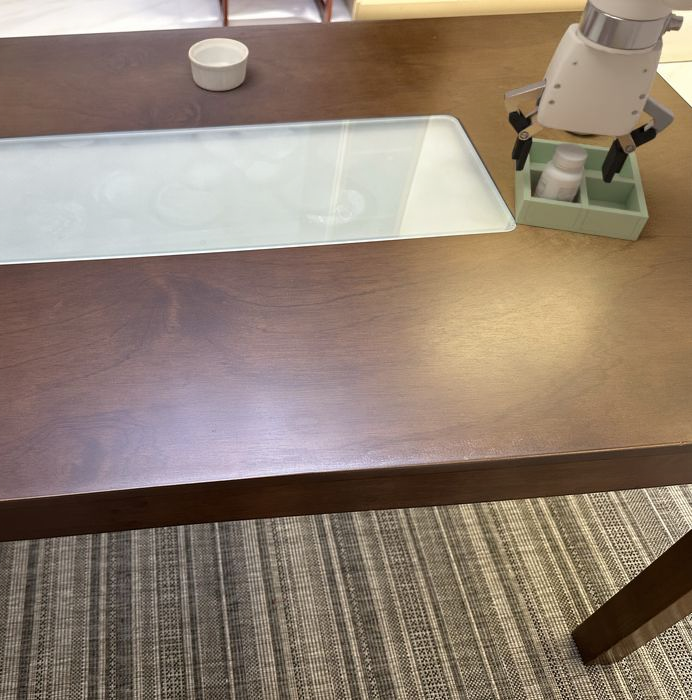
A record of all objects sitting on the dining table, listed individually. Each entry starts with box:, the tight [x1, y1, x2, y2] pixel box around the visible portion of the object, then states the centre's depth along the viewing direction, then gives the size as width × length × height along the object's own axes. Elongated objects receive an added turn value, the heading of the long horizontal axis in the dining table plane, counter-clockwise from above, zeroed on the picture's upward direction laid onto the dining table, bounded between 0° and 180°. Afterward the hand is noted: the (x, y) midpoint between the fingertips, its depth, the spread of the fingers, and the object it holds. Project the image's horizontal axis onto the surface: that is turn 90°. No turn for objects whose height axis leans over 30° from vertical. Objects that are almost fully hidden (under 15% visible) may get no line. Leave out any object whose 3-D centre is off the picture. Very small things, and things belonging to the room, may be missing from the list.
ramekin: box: [188, 37, 250, 92], centre depth 108 cm, size 9×9×4 cm
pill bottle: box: [533, 142, 588, 203], centre depth 84 cm, size 4×4×8 cm
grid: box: [514, 137, 650, 242], centre depth 88 cm, size 14×14×4 cm
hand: (561, 170), depth 84 cm, fingers open, 9 cm apart
